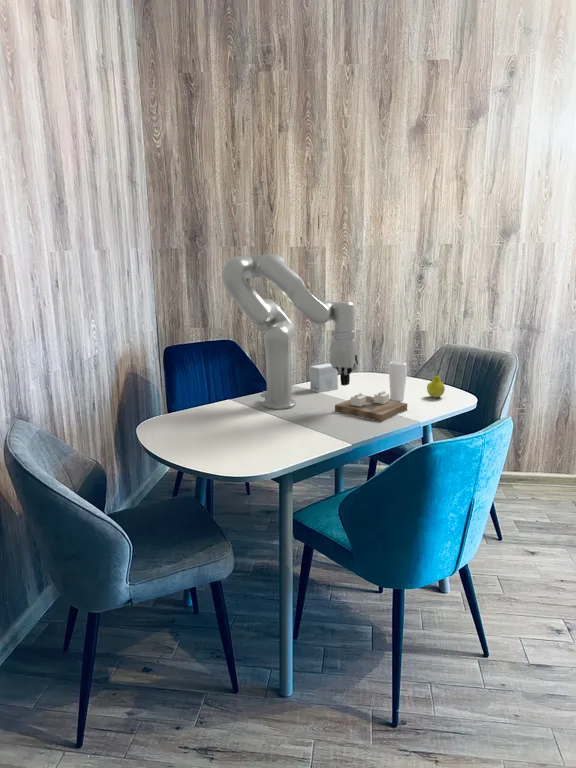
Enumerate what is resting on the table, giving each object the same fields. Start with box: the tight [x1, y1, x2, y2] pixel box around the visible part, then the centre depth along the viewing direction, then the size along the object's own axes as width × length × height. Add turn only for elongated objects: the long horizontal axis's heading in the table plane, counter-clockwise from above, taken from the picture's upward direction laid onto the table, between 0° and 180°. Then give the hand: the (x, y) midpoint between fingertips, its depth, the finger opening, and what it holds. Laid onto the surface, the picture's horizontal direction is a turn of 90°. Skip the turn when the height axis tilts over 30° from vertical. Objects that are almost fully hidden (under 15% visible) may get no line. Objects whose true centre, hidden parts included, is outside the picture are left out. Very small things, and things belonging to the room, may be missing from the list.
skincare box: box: [309, 362, 339, 393], centre depth 240 cm, size 10×6×10 cm, turn 126°
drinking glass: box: [388, 360, 408, 402], centre depth 222 cm, size 7×7×15 cm
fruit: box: [426, 368, 446, 399], centre depth 226 cm, size 7×7×12 cm
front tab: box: [350, 393, 367, 407], centre depth 208 cm, size 4×4×4 cm
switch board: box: [334, 394, 408, 422], centre depth 209 cm, size 20×18×2 cm
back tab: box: [373, 390, 390, 404], centre depth 210 cm, size 4×4×4 cm
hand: (345, 384), depth 211 cm, fingers closed
